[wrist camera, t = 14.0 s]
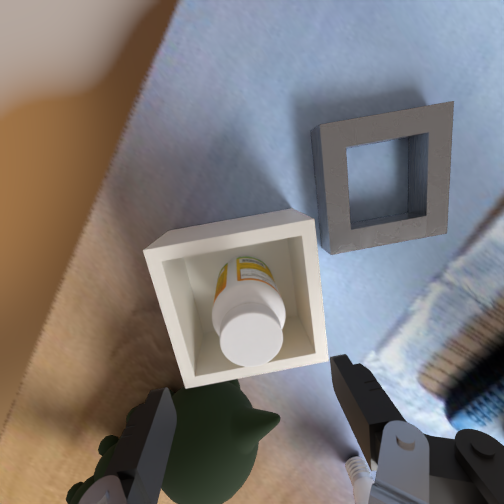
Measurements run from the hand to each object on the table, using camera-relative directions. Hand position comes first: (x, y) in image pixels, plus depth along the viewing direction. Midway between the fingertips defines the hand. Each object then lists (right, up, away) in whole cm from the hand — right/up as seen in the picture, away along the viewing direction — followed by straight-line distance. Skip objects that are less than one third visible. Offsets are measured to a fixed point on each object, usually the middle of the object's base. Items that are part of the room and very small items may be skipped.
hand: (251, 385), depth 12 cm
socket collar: (+12, +13, +12) cm, 21 cm away
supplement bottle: (-1, +4, +13) cm, 13 cm away
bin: (-1, +4, +13) cm, 14 cm away
